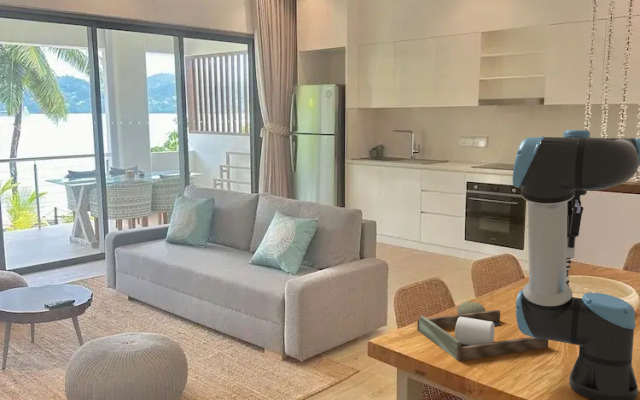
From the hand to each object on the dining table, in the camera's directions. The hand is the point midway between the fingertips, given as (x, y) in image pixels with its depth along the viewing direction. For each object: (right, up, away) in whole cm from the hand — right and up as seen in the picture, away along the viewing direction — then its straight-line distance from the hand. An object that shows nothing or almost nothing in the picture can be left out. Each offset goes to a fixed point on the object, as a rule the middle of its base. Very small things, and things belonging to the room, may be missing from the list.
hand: (568, 257), depth 173 cm
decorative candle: (+12, -19, +39) cm, 45 cm away
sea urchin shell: (-25, -22, +19) cm, 38 cm away
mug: (-30, -26, -4) cm, 40 cm away
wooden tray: (-28, -25, -1) cm, 37 cm away
